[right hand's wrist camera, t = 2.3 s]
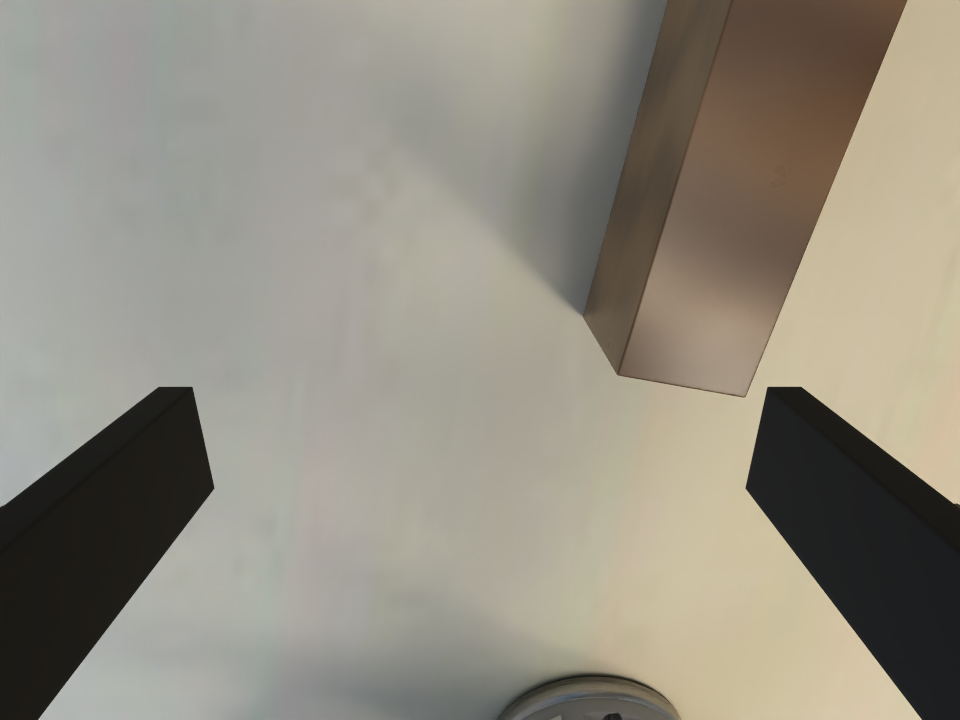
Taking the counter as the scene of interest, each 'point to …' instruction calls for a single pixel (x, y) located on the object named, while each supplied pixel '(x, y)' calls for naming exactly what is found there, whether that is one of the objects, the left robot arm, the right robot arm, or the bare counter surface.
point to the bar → (729, 180)
